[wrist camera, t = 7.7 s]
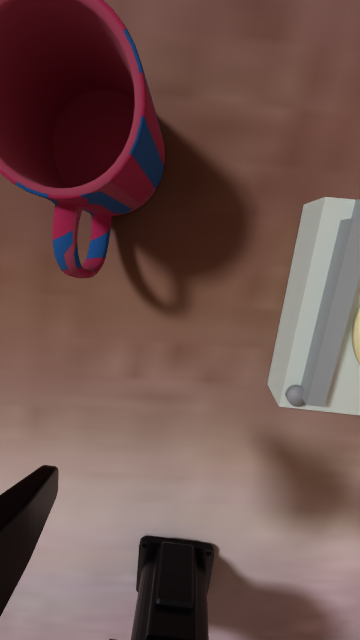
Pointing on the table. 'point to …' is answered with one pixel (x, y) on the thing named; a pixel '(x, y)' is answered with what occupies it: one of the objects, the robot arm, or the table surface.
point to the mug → (76, 119)
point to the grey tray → (321, 313)
